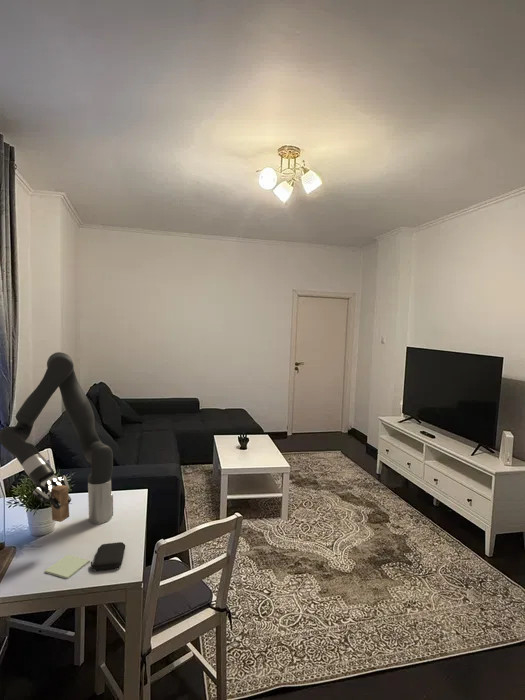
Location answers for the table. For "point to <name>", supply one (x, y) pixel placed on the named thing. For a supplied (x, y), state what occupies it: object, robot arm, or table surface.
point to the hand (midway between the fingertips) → (64, 504)
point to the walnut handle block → (62, 497)
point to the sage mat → (67, 566)
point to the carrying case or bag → (109, 557)
